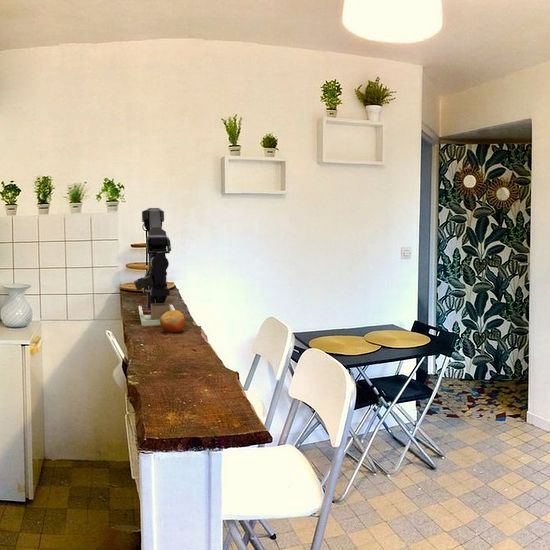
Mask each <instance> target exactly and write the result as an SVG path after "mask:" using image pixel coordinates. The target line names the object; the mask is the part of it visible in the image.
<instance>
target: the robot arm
mask: <svg viewBox="0 0 550 550" xmlns="http://www.w3.org/2000/svg"><path fill="white" fill-rule="evenodd" d="M141 222H142V223H143V226H144V228H145V230H146V231H147V232H146V233H147V237H146V240H145V241H146V244H145V245H146V252H147V256H148V258H147V259H148V269H147V270H146V272H145V273H144V276H143V277H142V276H141V277H139V278H137V279H136V280H134V281H133V285H134V286H135V289H136V291H141V290H143V291H142V292H143V295H146V305H145V308H151V303H166V300H167V297H168V296H170V295H171V294H170V292H171V290H170V288H169V287H168V281H167V276H168V272H167V270H168V268H169V264H170V263H169V260H168V258H167V255H166V254H170V253H171V251H172V246H171V245H172V244H171V239H170V238H169V236H168V235H167V232H166V230H164V229H163V222H165V211H164V210H162V209H161V208H159V207H149V208H146V209H145V210H142V211H141Z"/></svg>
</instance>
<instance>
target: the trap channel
mask: <svg viewBox="0 0 550 550" xmlns="http://www.w3.org/2000/svg"><path fill="white" fill-rule="evenodd" d="M169 305H170V311H173V310H176V308H175V307H174V305H173V304H169ZM138 312H139V317H140V323H141V327H148V326H149V327H150V326H161V324H160V320H151V314H144V312H143V307H142V305H138Z"/></svg>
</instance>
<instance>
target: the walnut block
mask: <svg viewBox="0 0 550 550" xmlns="http://www.w3.org/2000/svg"><path fill="white" fill-rule="evenodd" d="M170 305H171V304H169V302H164V303H151V307H150V315H151V320H160V318H161V316H162V315H163V314H164V313H166V312H168V311H171V310H170Z"/></svg>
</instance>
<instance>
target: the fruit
mask: <svg viewBox="0 0 550 550" xmlns="http://www.w3.org/2000/svg"><path fill="white" fill-rule="evenodd" d="M185 323H186V317H185V316H184V313H182V311H180V310H178V309H175V310H173V311H171V310H170V311H168V312H166V313H164V314H163V315H162V316H161V318H160V324H161V325H160V326H161V327H162V328H163V330H164V332H165V333H166V334H167V333H169V334H170V333H172V334H173V333H181V332H183V330H184V328H185V325H186V324H185Z"/></svg>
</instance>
